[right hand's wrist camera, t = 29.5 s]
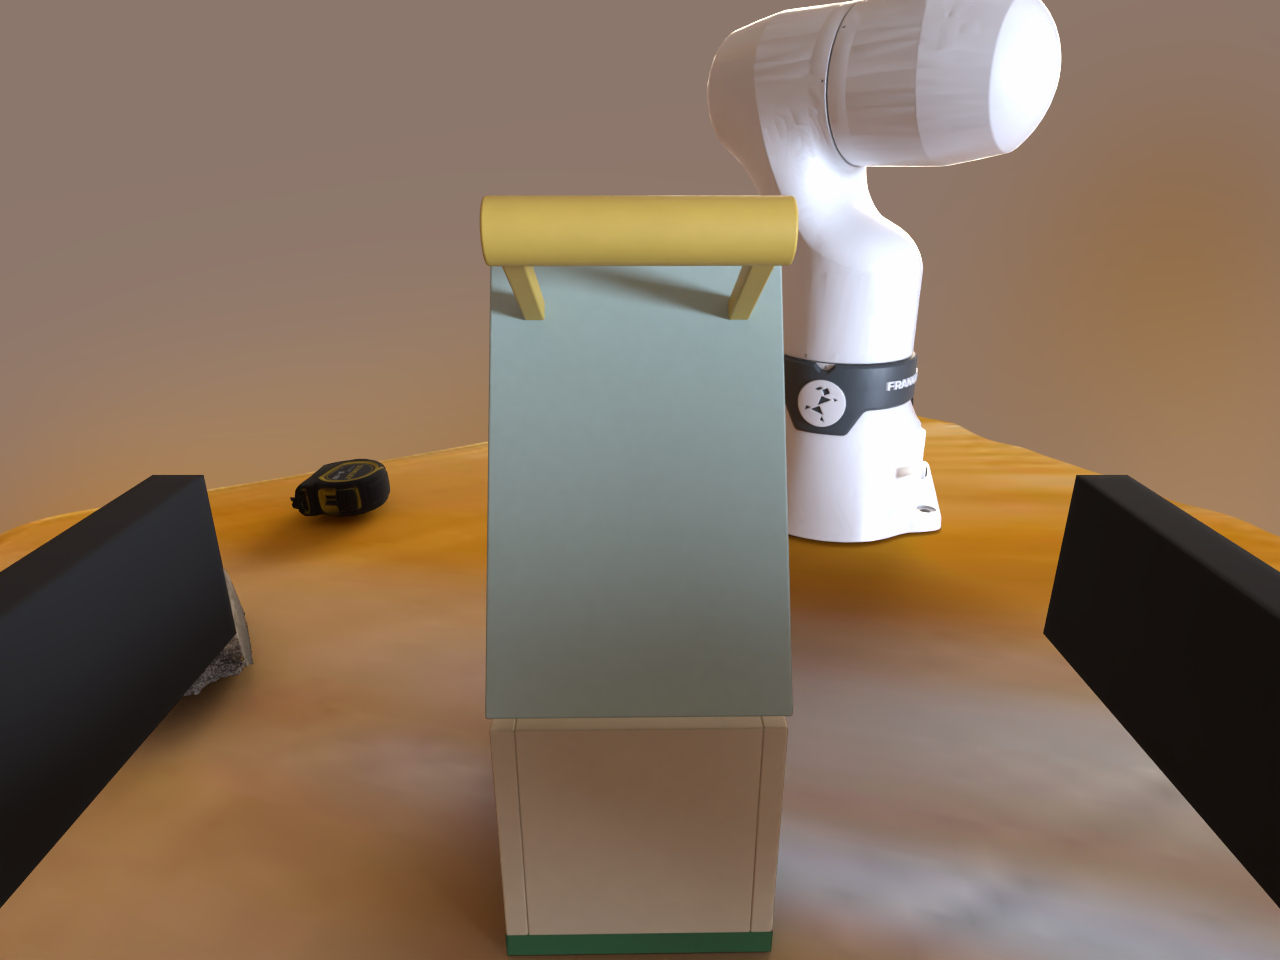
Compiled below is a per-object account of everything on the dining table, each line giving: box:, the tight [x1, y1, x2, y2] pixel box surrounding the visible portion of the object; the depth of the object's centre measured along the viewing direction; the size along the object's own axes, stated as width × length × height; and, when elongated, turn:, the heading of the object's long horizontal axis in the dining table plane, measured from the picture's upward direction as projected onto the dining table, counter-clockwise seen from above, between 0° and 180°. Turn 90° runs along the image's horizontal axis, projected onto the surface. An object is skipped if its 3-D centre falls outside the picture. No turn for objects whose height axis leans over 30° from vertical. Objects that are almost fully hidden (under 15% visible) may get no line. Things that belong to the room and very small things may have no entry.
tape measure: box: [290, 459, 390, 517], centre depth 70 cm, size 7×7×4 cm
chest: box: [490, 716, 788, 955], centre depth 37 cm, size 16×10×10 cm, turn 1°
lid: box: [480, 195, 798, 719], centre depth 24 cm, size 17×10×9 cm
